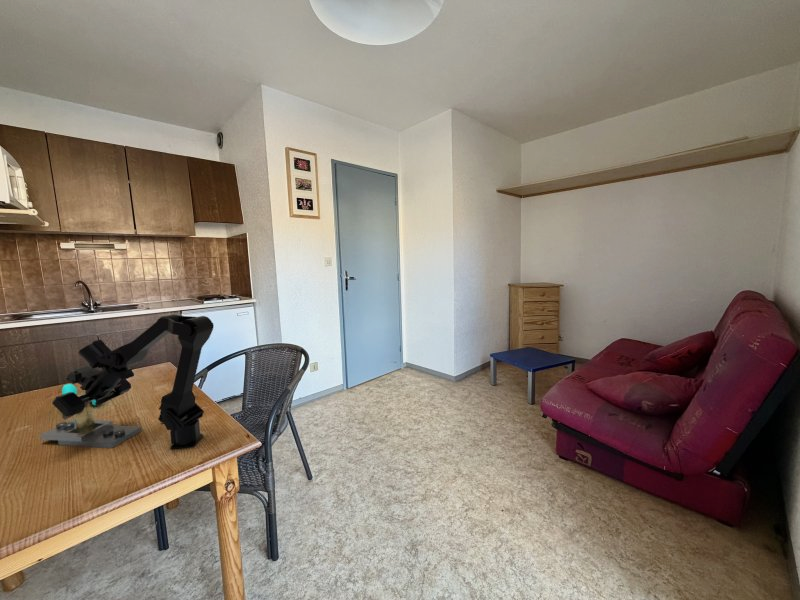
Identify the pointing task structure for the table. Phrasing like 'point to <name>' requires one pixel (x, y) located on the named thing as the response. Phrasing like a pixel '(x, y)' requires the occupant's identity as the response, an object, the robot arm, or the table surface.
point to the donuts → (72, 390)
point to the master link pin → (85, 418)
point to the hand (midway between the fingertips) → (81, 411)
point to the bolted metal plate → (91, 434)
